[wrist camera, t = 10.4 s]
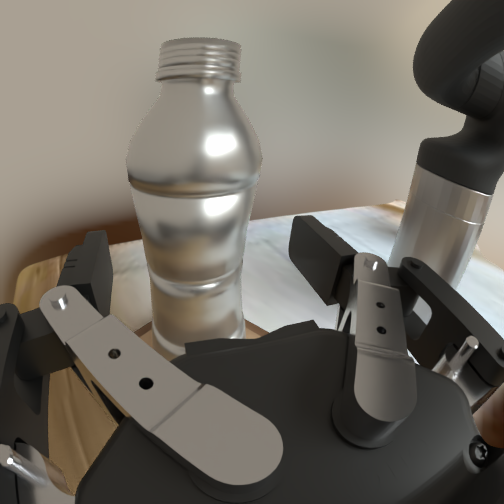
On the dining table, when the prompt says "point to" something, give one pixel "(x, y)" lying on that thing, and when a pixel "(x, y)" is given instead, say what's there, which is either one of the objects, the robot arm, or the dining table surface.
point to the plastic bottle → (195, 193)
